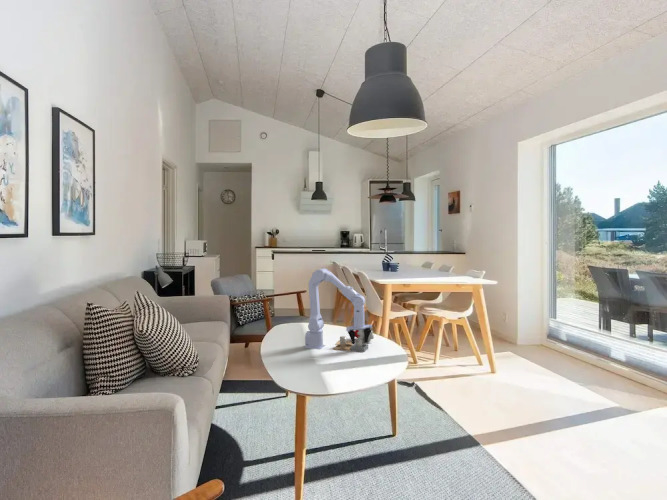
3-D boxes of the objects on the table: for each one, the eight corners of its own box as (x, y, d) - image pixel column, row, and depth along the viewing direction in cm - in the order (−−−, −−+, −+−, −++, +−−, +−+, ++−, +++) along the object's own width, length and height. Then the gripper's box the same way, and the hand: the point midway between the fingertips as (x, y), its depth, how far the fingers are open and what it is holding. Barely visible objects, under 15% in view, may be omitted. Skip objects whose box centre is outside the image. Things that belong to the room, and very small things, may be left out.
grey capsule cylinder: (339, 347, 235) (338, 337, 235) (341, 345, 239) (341, 336, 238) (344, 347, 234) (344, 338, 234) (347, 346, 237) (346, 336, 237)
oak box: (334, 350, 232) (334, 347, 232) (340, 346, 240) (340, 343, 240) (349, 351, 228) (349, 348, 228) (355, 347, 236) (355, 344, 236)
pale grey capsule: (355, 349, 230) (355, 339, 230) (357, 348, 233) (357, 338, 233) (361, 350, 229) (361, 340, 228) (363, 348, 232) (363, 338, 231)
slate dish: (350, 351, 229) (350, 346, 229) (355, 347, 236) (355, 343, 236) (364, 352, 226) (363, 348, 226) (368, 349, 233) (368, 344, 233)
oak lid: (334, 345, 241) (334, 342, 241) (338, 341, 250) (338, 338, 250) (350, 346, 239) (350, 343, 239) (353, 342, 248) (353, 339, 248)
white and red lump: (373, 343, 242) (348, 344, 248) (379, 338, 253) (355, 339, 258) (371, 327, 242) (346, 329, 248) (377, 323, 253) (353, 324, 258)
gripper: (350, 320, 224) (350, 346, 224) (374, 318, 229) (375, 343, 230) (344, 318, 230) (344, 343, 231) (368, 315, 236) (369, 340, 236)
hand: (359, 343), depth 231 cm, fingers open, 7 cm apart
